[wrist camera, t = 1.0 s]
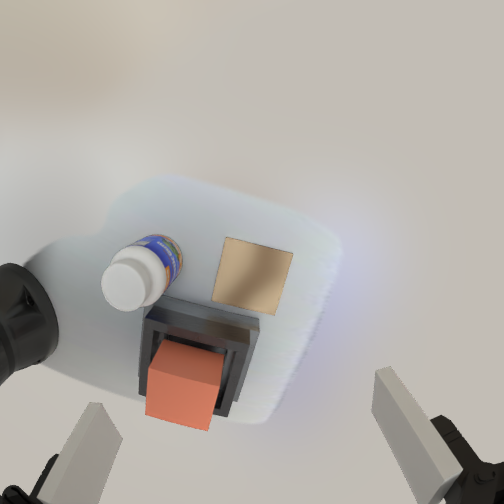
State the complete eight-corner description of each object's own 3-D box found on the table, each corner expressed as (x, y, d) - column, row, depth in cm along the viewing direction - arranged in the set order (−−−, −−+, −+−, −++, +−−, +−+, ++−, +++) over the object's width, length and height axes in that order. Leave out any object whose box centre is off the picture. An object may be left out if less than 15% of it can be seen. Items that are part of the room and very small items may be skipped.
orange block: (158, 384, 28) (145, 414, 23) (163, 338, 26) (148, 367, 21) (212, 398, 28) (207, 431, 23) (224, 354, 27) (219, 386, 22)
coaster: (211, 299, 31) (211, 300, 31) (226, 236, 30) (225, 237, 29) (274, 313, 32) (274, 315, 31) (292, 253, 30) (293, 254, 30)
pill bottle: (190, 274, 31) (166, 312, 21) (147, 288, 31) (111, 327, 21) (172, 226, 29) (139, 244, 20) (129, 242, 30) (84, 266, 20)
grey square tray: (145, 362, 33) (130, 391, 27) (153, 292, 31) (134, 314, 25) (238, 386, 34) (236, 418, 28) (258, 319, 32) (260, 346, 26)
